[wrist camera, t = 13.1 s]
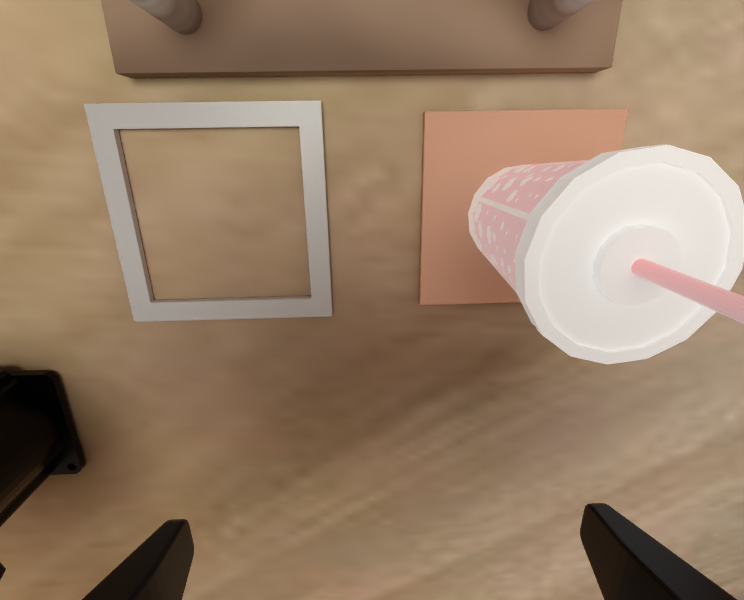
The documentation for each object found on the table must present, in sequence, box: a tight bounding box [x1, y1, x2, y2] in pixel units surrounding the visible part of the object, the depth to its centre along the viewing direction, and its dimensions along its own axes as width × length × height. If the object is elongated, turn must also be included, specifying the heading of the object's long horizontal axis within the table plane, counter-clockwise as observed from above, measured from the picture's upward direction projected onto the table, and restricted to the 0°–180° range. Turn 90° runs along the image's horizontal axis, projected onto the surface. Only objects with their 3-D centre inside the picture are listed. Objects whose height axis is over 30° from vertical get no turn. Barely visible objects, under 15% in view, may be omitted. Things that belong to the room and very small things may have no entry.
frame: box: [84, 101, 333, 322], centre depth 19 cm, size 10×10×1 cm
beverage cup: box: [468, 145, 744, 364], centre depth 13 cm, size 6×6×14 cm
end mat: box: [419, 109, 628, 305], centre depth 20 cm, size 9×9×1 cm
